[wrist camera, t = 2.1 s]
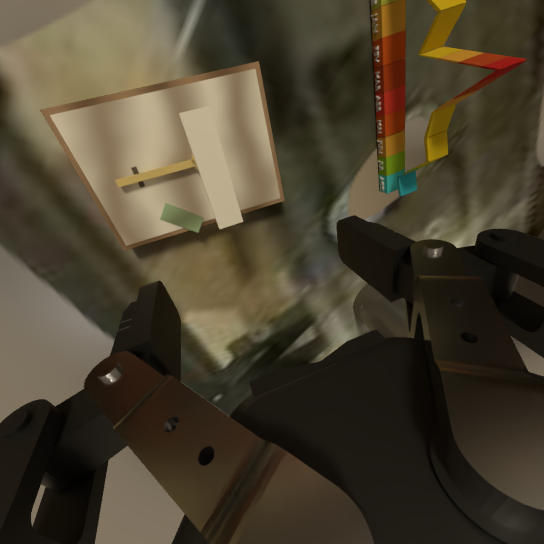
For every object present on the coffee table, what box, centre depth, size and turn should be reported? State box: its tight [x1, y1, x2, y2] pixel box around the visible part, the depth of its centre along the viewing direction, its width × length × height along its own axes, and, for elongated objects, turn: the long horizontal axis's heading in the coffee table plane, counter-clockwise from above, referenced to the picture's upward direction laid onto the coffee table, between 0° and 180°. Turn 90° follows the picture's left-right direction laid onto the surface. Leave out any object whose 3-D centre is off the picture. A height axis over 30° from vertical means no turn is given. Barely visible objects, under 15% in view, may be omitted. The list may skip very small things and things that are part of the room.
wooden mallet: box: [115, 106, 243, 229], centre depth 22 cm, size 10×8×10 cm
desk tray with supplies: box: [40, 61, 285, 251], centre depth 28 cm, size 20×14×3 cm
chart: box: [371, 0, 527, 196], centre depth 25 cm, size 30×3×15 cm, turn 17°
